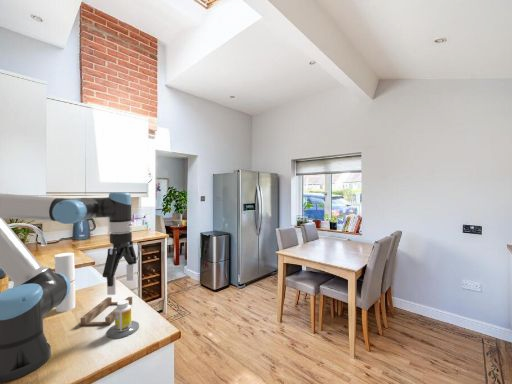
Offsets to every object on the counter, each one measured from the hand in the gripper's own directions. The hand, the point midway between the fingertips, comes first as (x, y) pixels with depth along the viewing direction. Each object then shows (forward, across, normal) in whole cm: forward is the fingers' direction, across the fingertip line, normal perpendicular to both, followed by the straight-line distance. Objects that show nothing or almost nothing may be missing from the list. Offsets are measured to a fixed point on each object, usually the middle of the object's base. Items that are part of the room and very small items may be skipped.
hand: (121, 286), depth 95 cm
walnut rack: (+17, +13, +13) cm, 25 cm away
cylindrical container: (+17, +19, +36) cm, 44 cm away
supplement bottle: (+16, 0, 0) cm, 16 cm away
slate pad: (+17, 0, 0) cm, 17 cm away
